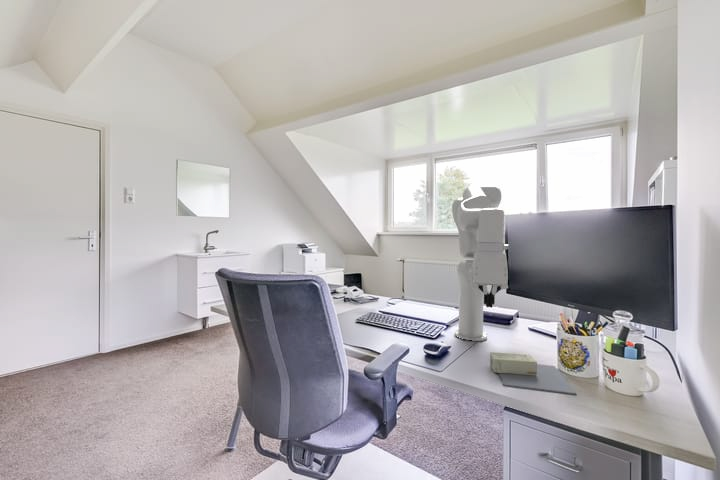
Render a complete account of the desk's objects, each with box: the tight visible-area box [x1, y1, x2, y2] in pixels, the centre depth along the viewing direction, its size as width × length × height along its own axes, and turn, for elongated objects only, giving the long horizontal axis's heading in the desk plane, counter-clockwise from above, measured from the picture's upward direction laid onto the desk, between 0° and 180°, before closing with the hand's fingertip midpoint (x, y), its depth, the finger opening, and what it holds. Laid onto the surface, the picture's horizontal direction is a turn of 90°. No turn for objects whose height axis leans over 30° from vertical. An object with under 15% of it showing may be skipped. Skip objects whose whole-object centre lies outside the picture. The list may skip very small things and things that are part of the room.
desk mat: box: [498, 363, 577, 396], centre depth 96 cm, size 18×18×1 cm
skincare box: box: [489, 351, 538, 376], centre depth 99 cm, size 6×4×12 cm
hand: (488, 306), depth 100 cm, fingers closed
